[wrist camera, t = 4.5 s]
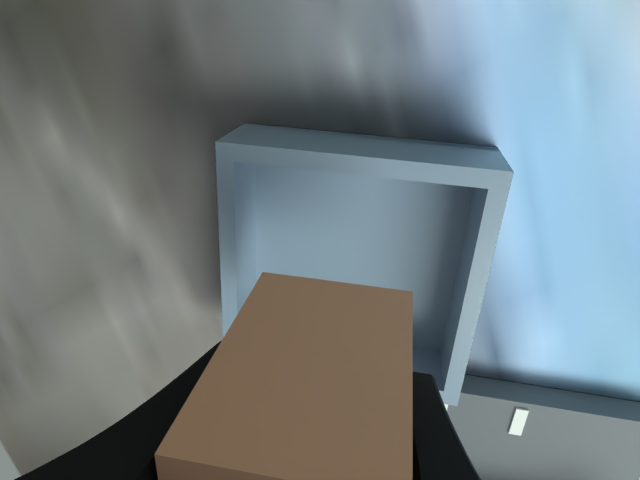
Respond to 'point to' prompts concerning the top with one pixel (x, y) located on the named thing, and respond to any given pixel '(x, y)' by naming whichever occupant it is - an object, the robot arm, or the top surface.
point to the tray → (366, 225)
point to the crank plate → (545, 432)
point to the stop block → (302, 389)
